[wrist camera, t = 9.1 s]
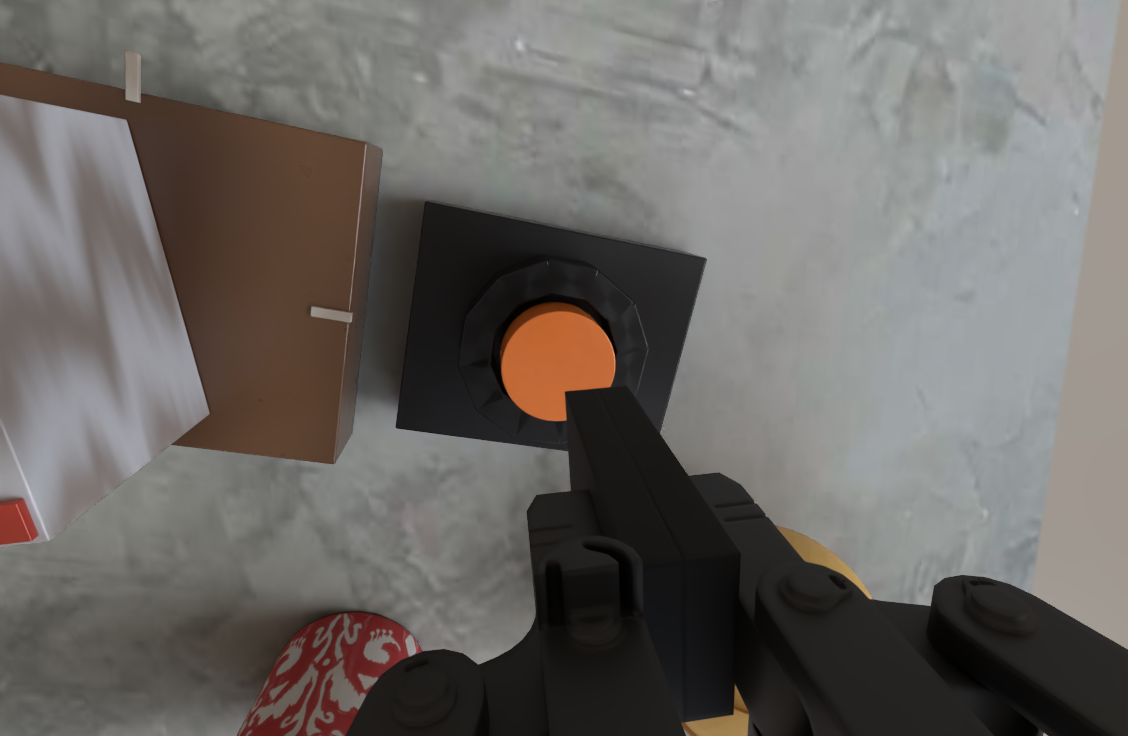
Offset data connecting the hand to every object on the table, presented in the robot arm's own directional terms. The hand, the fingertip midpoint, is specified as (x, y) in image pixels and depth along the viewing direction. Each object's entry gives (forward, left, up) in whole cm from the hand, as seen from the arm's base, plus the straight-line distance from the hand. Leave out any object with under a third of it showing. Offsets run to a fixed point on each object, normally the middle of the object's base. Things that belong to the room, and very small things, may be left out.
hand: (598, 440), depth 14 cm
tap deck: (-15, 0, -12) cm, 19 cm away
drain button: (0, 0, -8) cm, 8 cm away
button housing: (0, 0, -12) cm, 12 cm away
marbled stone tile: (-15, 0, -8) cm, 17 cm away
